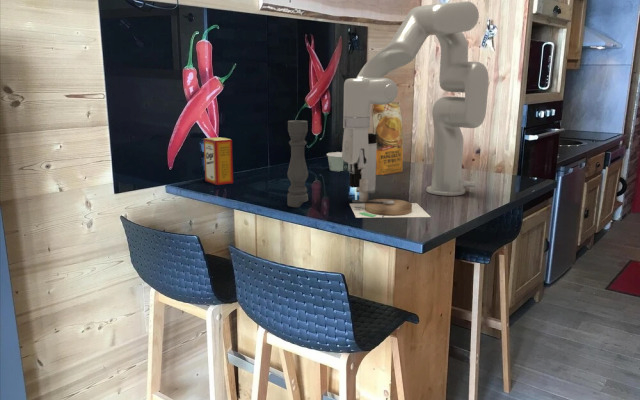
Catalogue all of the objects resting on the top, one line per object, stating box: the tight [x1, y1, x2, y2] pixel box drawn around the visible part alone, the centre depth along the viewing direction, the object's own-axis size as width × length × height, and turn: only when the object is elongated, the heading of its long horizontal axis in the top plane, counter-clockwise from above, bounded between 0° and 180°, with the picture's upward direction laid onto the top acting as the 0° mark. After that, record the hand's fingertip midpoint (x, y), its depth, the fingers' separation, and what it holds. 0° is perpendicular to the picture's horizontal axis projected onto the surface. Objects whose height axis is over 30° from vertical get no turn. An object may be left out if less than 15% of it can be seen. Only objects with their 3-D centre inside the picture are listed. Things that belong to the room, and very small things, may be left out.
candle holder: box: [286, 119, 309, 208], centre depth 160 cm, size 6×6×25 cm
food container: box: [326, 151, 349, 172], centre depth 224 cm, size 12×12×6 cm
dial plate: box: [349, 202, 431, 219], centre depth 151 cm, size 20×16×2 cm
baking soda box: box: [203, 136, 234, 186], centre depth 195 cm, size 10×6×16 cm
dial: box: [352, 179, 412, 215], centre depth 150 cm, size 16×13×8 cm
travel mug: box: [355, 132, 377, 194], centre depth 178 cm, size 6×7×20 cm
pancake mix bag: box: [371, 102, 404, 176], centre depth 215 cm, size 7×19×28 cm, turn 130°
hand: (355, 186), depth 157 cm, fingers closed
